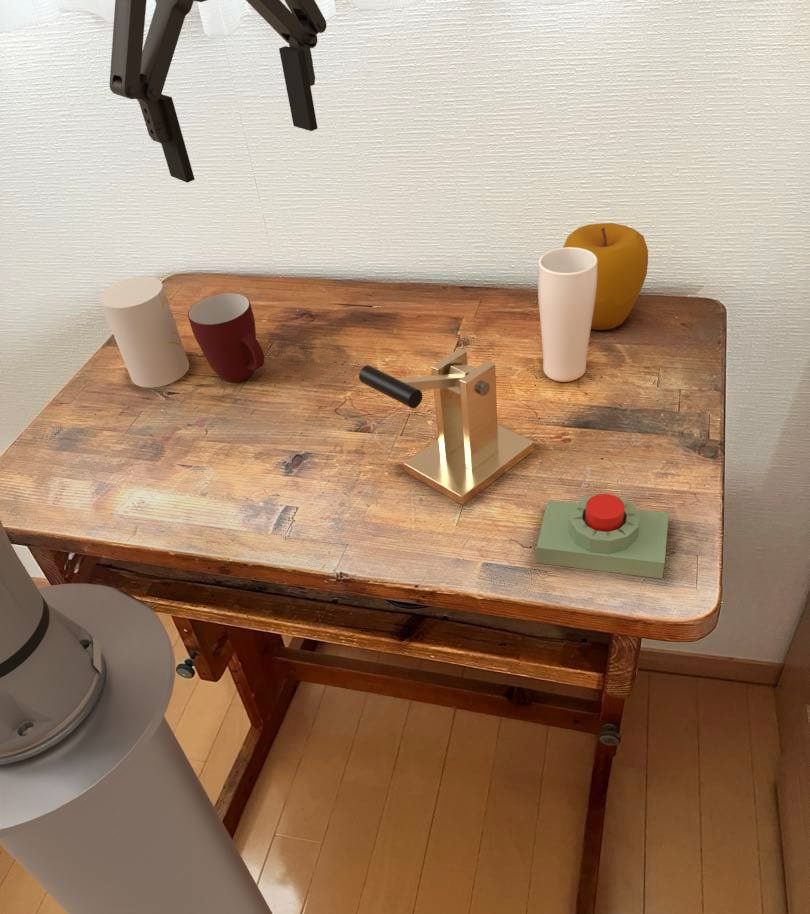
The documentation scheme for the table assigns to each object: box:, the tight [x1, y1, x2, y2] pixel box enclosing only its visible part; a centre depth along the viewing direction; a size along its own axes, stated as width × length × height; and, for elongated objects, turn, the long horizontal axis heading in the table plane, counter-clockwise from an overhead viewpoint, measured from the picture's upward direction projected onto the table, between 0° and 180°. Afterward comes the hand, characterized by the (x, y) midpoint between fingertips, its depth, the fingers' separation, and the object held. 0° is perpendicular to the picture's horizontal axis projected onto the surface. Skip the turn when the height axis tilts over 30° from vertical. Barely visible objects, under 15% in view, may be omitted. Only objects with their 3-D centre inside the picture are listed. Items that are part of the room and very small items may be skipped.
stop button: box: [585, 493, 625, 532], centre depth 80 cm, size 4×4×2 cm
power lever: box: [358, 364, 477, 409], centre depth 83 cm, size 13×7×2 cm, turn 134°
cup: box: [99, 276, 190, 389], centre depth 112 cm, size 8×8×12 cm
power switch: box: [403, 348, 535, 506], centre depth 90 cm, size 12×9×13 cm
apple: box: [562, 222, 649, 331], centre depth 109 cm, size 11×11×13 cm
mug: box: [187, 292, 266, 384], centre depth 109 cm, size 10×8×10 cm
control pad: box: [535, 493, 670, 579], centre depth 82 cm, size 12×7×4 cm, turn 74°
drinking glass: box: [537, 247, 598, 383], centre depth 100 cm, size 7×7×15 cm
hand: (246, 152), depth 74 cm, fingers open, 13 cm apart
